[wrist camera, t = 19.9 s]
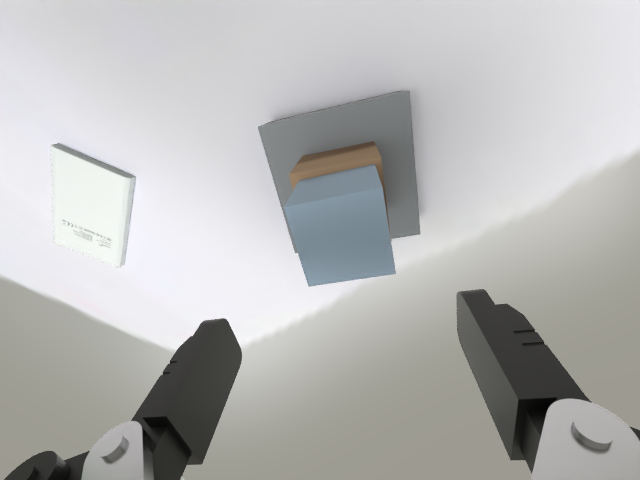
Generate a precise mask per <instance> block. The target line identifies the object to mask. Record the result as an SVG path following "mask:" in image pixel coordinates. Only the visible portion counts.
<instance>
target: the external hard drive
mask: <svg viewBox="0 0 640 480" xmlns="http://www.w3.org/2000/svg"><path fill="white" fill-rule="evenodd" d="M51 166H52V204H53V241H54V243H55V244H57V245H60V246H63V247H65V248H68V249H70V250H73V251H76V252H78V253H81V254H83V255H86V256H88V257H91V258H93V259H96V260H99V261H101V262H104V263H106V264H109V265H111V266H114V267H121V266H122V265H124V261H125V254H126V246H127V239H128V231H129V223H130V215H131V207H132V200H133V192H134V184H135V176H133V175H131V174H128V173H126V172H123V171H121V170H119V169H116V168H114V167H112V166H110V165H107V164H105V163H103V162H100V161H98V160H96V159H93V158H91V157H89V156H86V155H84V154H82V153H79V152H77V151H75V150H72V149H70V148H68V147H65V146H63V145H61V144H54V145H51Z"/></svg>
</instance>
